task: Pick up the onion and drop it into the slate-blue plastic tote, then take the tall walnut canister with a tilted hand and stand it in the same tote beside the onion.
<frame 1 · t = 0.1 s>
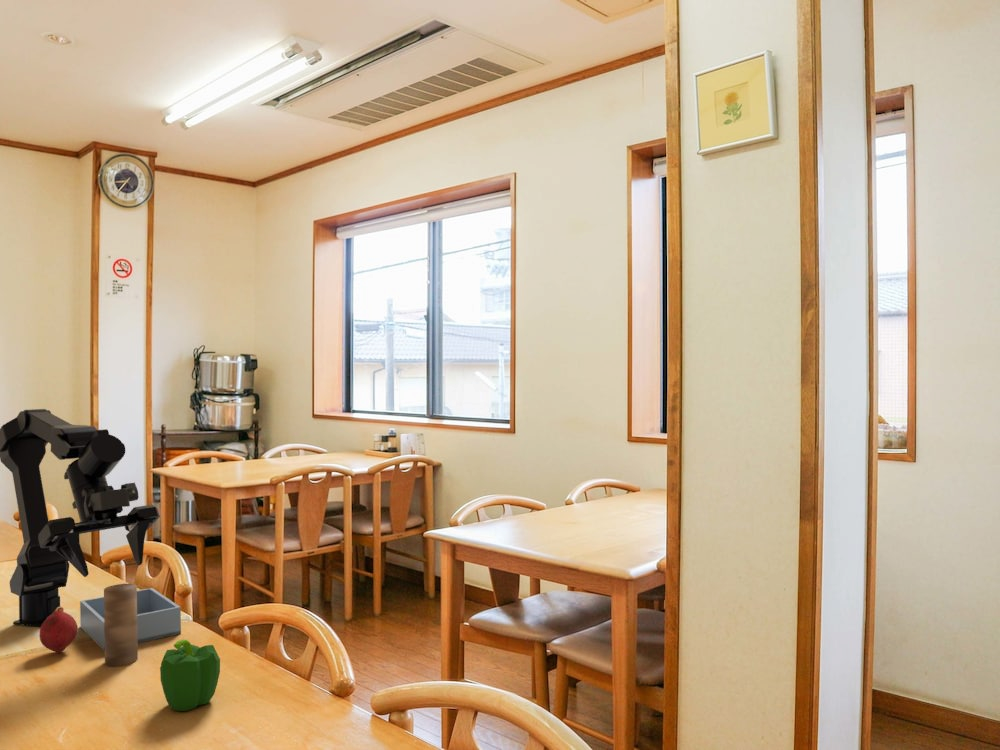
hand: (114, 570, 135), 15 cm above the table, tool tilted 35°, fingers open, 9 cm apart
onion: (58, 653, 137), on the table
bell pepper: (189, 705, 115), on the table
tote: (129, 630, 148), on the table
canister: (121, 661, 132), on the table
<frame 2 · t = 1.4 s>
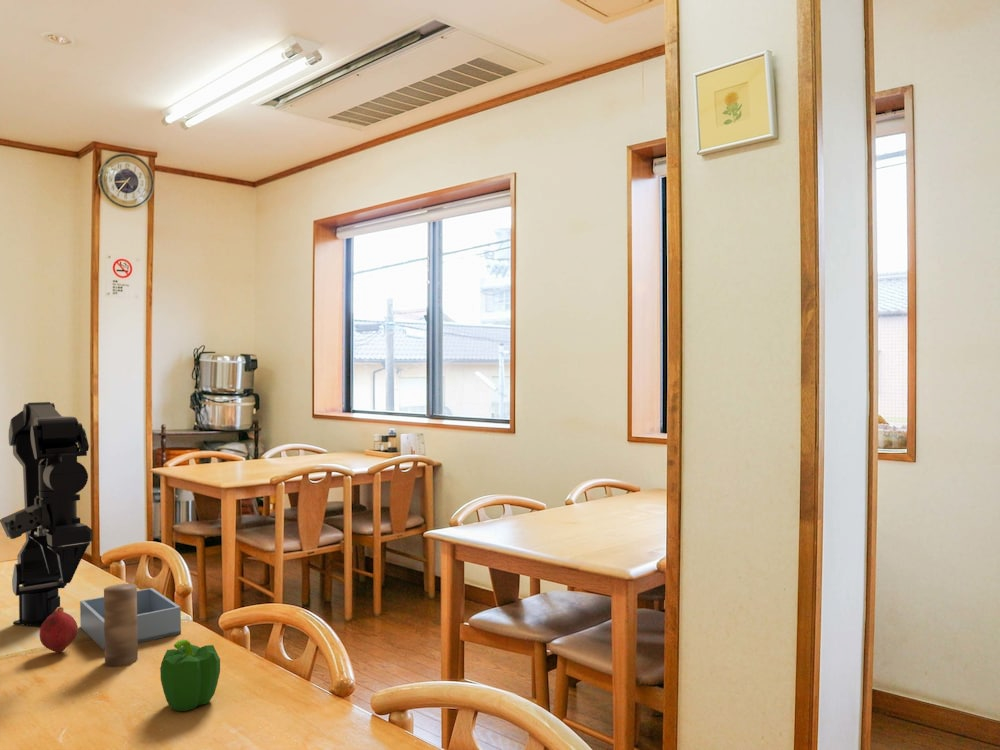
hand: (59, 578, 136), 13 cm above the table, tool pointing down, fingers open, 9 cm apart
nothing on the table moved.
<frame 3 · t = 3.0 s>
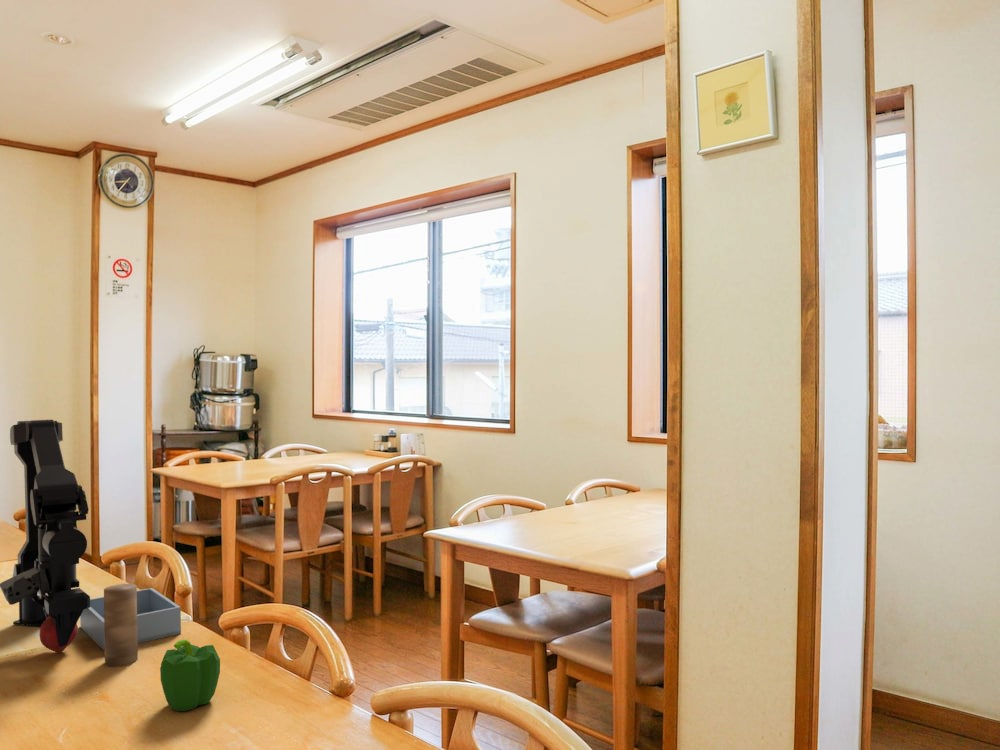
hand: (58, 641, 137), 2 cm above the table, tool pointing down, fingers closed on onion, 6 cm apart
onion: (58, 653, 137), on the table, touching gripper
everything else where it was.
when the fingers open (7 cm above the table, at t = 6.9 s): onion drops 4 cm, resting on tote.
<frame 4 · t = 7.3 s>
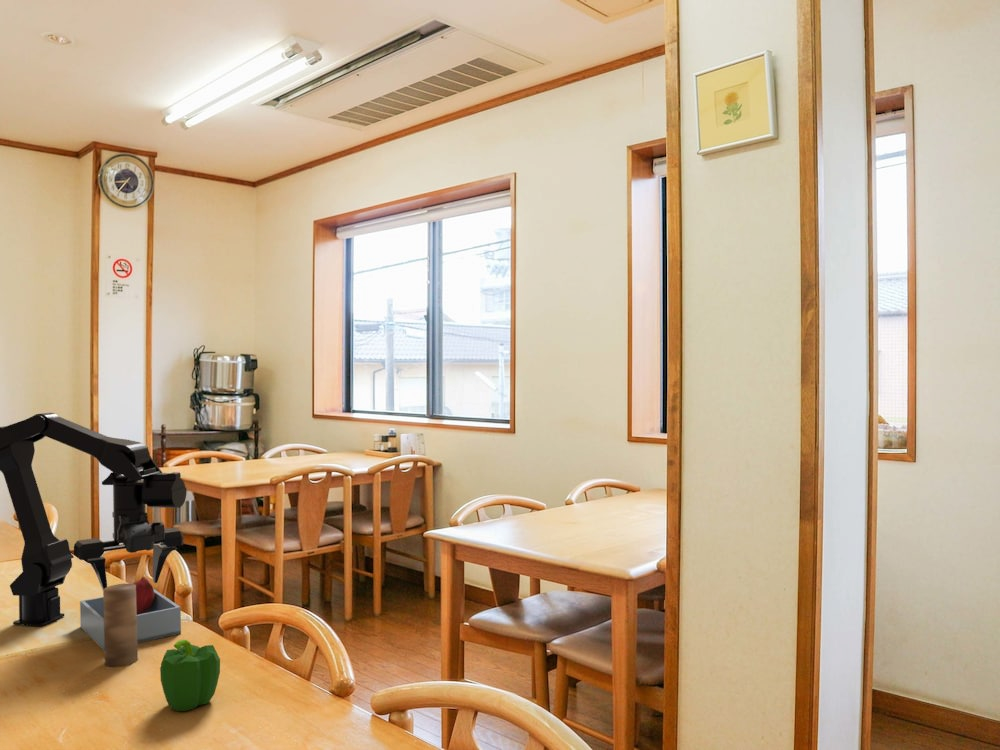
hand: (130, 587, 152), 7 cm above the table, tool pointing down, fingers open, 9 cm apart
onion: (132, 618, 153), point 1 cm above the table, touching tote
everything else where it was.
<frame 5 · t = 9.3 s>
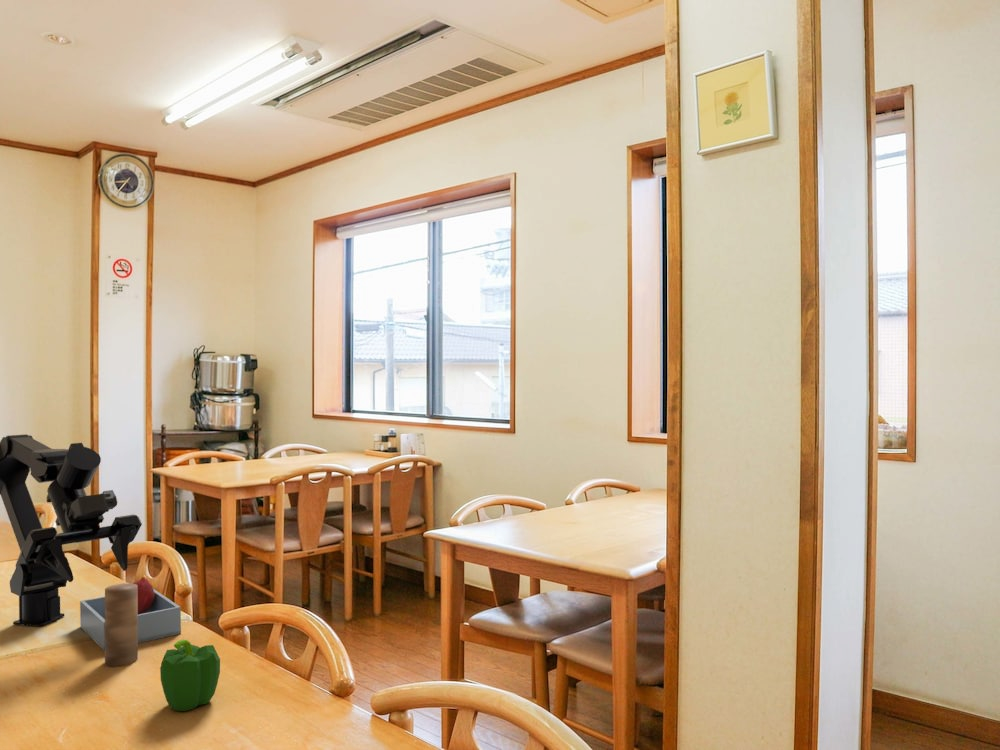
hand: (99, 574, 137), 13 cm above the table, tool tilted 45°, fingers open, 9 cm apart
nothing on the table moved.
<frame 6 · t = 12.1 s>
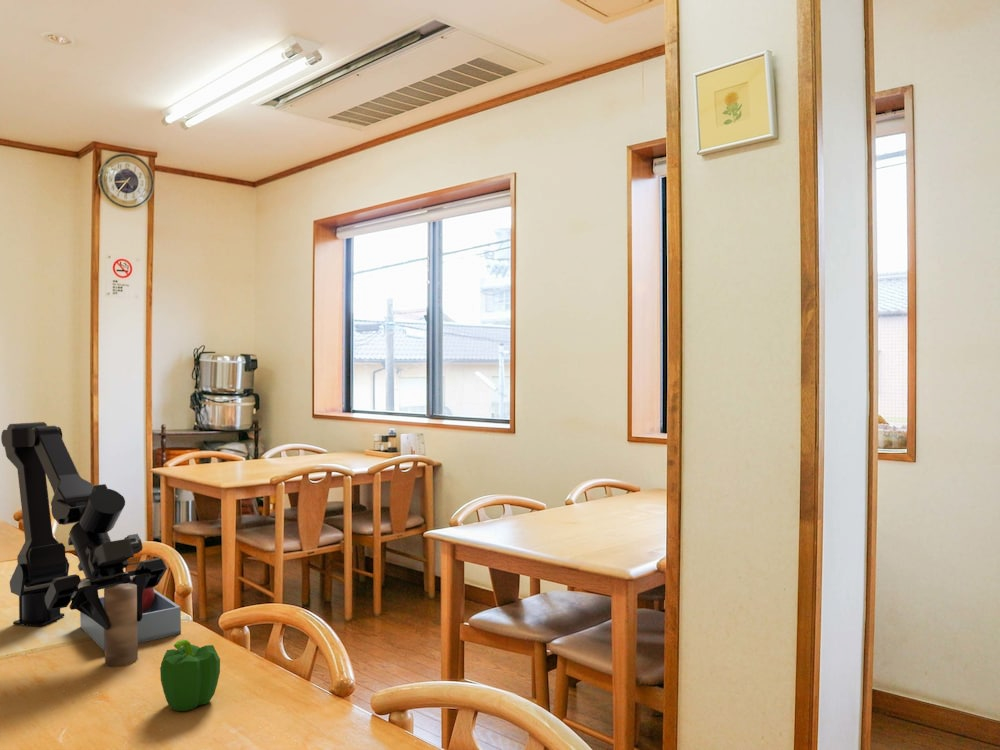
hand: (124, 624, 131), 7 cm above the table, tool tilted 45°, fingers closed on canister, 5 cm apart
canister: (121, 660, 132), on the table, touching gripper
everything else where it was.
when the fingers open (8 cm above the table, at t = 15.6 s): canister stays where it is, resting on tote.
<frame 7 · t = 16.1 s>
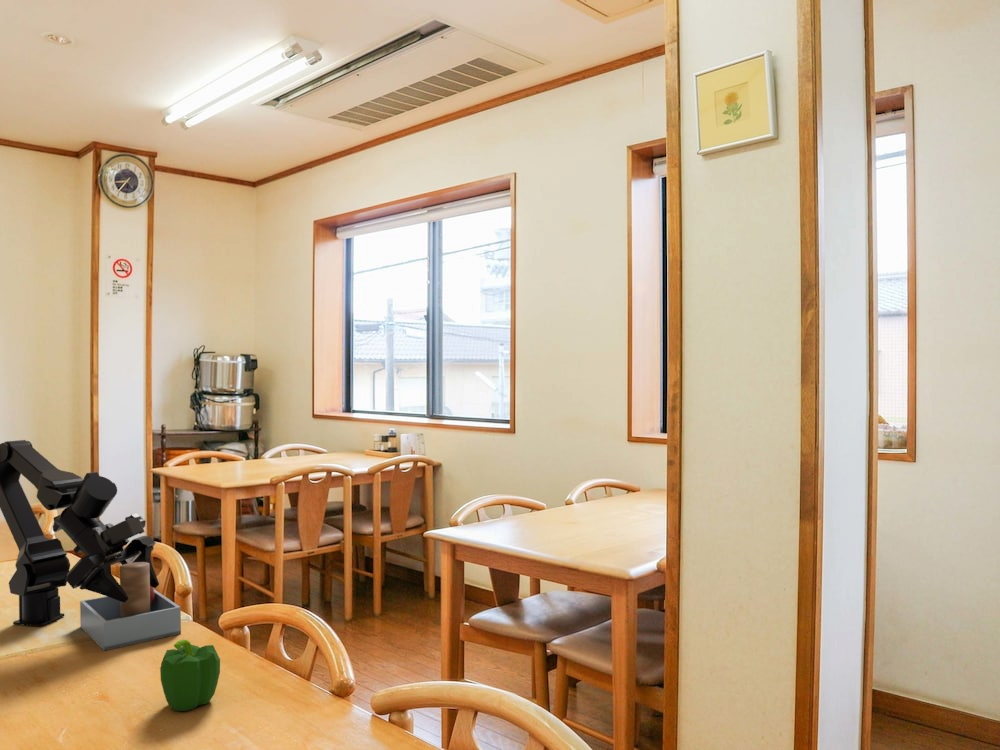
hand: (142, 593, 145), 8 cm above the table, tool tilted 45°, fingers open, 9 cm apart
canister: (135, 632, 145), point 1 cm above the table, touching tote
everything else where it was.
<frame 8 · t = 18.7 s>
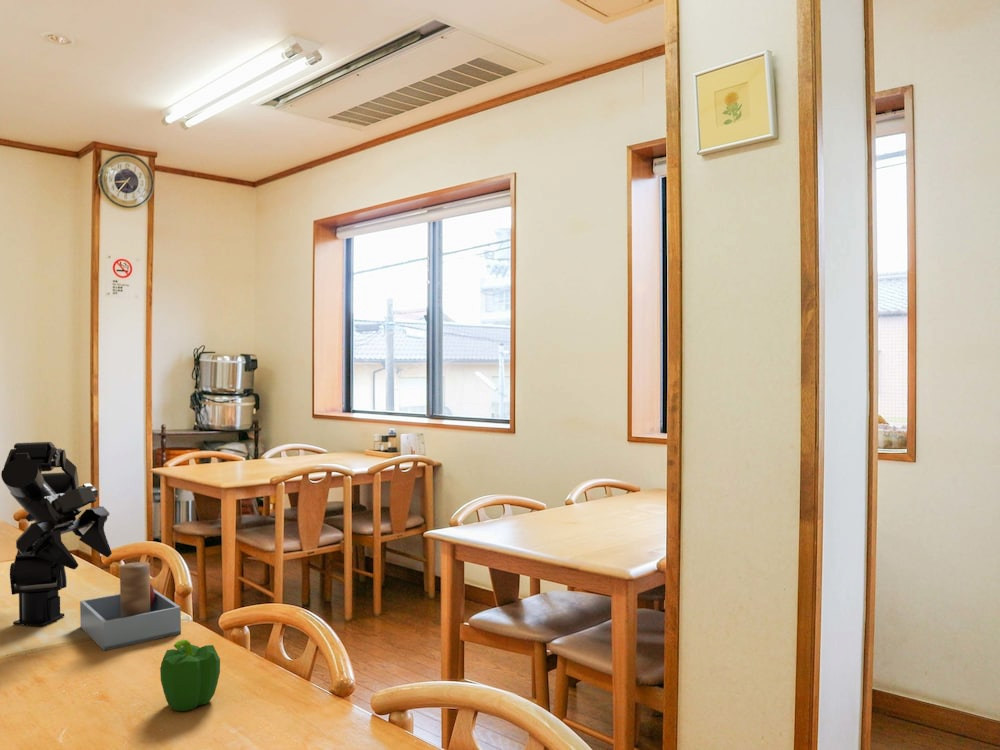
hand: (93, 561, 146), 14 cm above the table, tool tilted 45°, fingers open, 9 cm apart
nothing on the table moved.
at the end: canister 4.0 cm from the tote (horizontally); canister point 0.6 cm above the table; onion 4.7 cm from the tote (horizontally) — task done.
